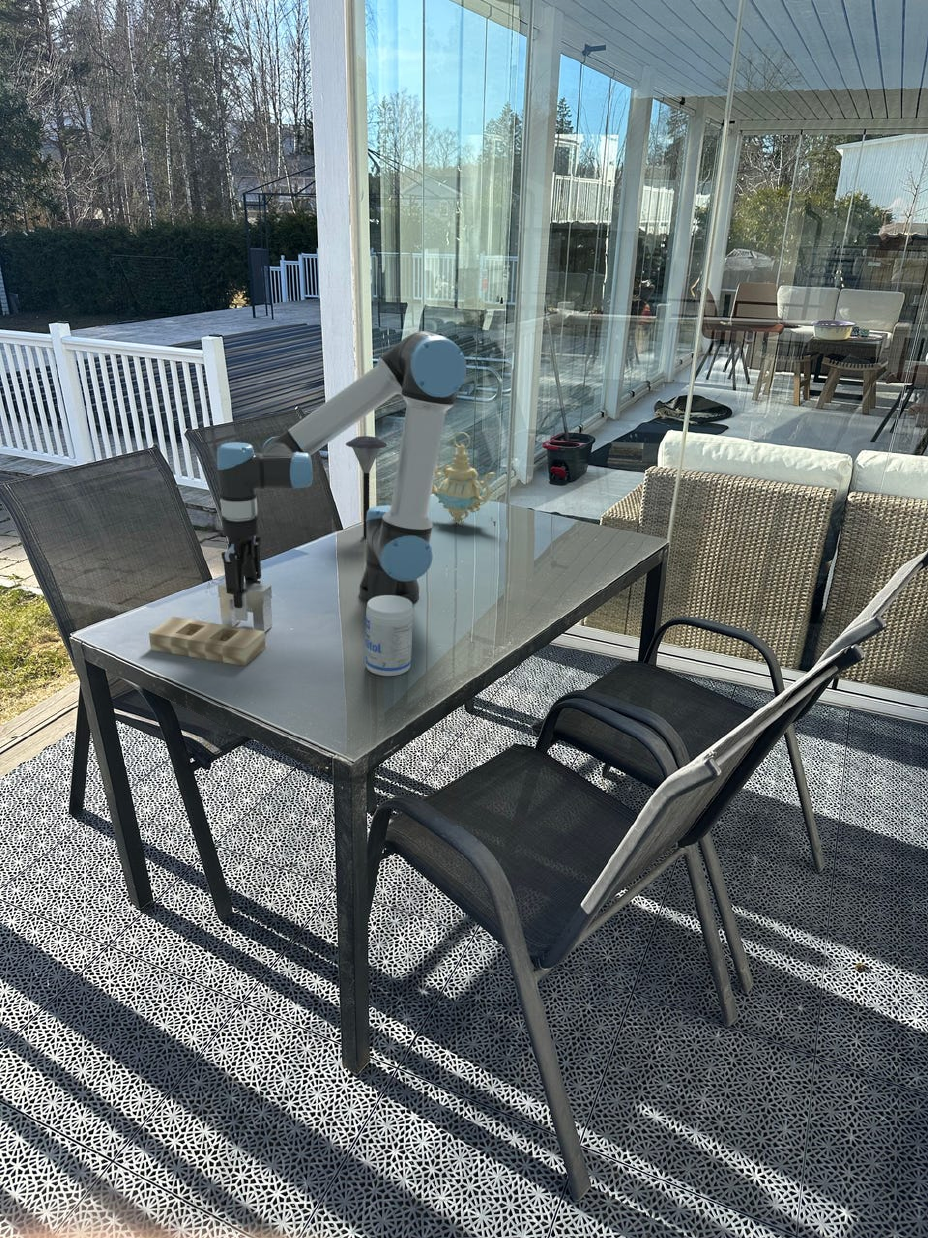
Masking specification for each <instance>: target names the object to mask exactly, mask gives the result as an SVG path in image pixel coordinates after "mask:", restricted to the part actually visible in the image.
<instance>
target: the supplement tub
mask: <svg viewBox="0 0 928 1238" xmlns="http://www.w3.org/2000/svg"><path fill="white" fill-rule="evenodd" d="M365 611H366V612H365V656H364V657H365V659H364V660H365V668H367V670H368V671H369V672H371V673H372V674H374V675H378V676H382V677H396V676H400V675H404V674H405V673H406V672H408V671H409V669H410V668H411V665H412V662H411V661H412V644H413V641H412V640H413V622H414V620H413V618H414V607H413V602H411V601H410V600H408V599H406V598H404V597H401V596H395V595H382V596H377V597H374V598H372V599H370V600H369V601H368V602H367V604H366V610H365Z"/></svg>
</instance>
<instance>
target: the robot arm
mask: <svg viewBox="0 0 928 1238" xmlns="http://www.w3.org/2000/svg"><path fill="white" fill-rule="evenodd" d="M466 376H467V361H466V357H465V355H464V353H463V351H462V350H461V349H460V347H459V345H457V344H456V343H455V342H454V341H453V339H450V338H448V337H446V336H443V335H440V334H437V333H435V332H431V331H426V330H421V331H417V332H413V333H411V334H410V335H408V336H406V337H405V338H403V339H402V340H400V341H399V342H398V343H397V344H395V345H394V346H393V347H392V348H390V349H388V351H386V352H385V353H384V354H383V355H381V356H379V357H378V358H377V364H376V366H374V367H373V368H371V369H370V370H369V371H367V372H366V373H364V374H363V375H361V376H360V377H358V379H356V380H355V381H353V382H352V383H351V384H349V385H347V386H346V387H344V388H343V390H340V391H339V392H338V393H337V394H335V395H334V396H333V397H331V398H330V399H328V400H327V401H326V402H324V403H323V404H322V405H320V406H319V407H317V408H316V409H314V410H313V411H312V412H310V413H309V414H308V415H307V416H305V417H304V418H302V419H301V420H300V421H299V422H297V423H295V424H294V425H293V426H291V427H290V428H289V429H287V430H286V431H285V432H283V433H282V434H280V435H278V436H273V437H270V438H269V439H267V440H266V441H265V442H264V443H263V445H262V449H261V453H258V452H255V449H254V447H253V445H252V444H250V443H247V442H240V441H239V442H237V441H236V442H234V441H233V442H226V443H223V444H220V446H218V448H217V450H216V454H217V455H216V457H217V458H216V460H217V464H216V465H217V479H218V486H219V487H218V488H219V496H220V500H219V503H220V509H221V516H222V518H221V525H222V533H223V535H224V536H226V537H227V538H228V545H227V546H228V547H227V548H228V549H227V551H226V552H225V551H223V552H221V559H222V562H223V566H224V567H223V568H224V577H225V579H224V581H225V580H226V590H227V593H228V594H233V597H234V610H235V619H236V620H241V621H245V622H247V621H248V620H249V619H248V618H249V617H248V613H252V614H253V606H252V603H251V602H246V593H244V582H250V583H257V584H262V582H261V579H262V564H261V563H262V562H261V561H262V560H261V543H262V538H261V536H256V535H257V534H258V533H259V520H258V519H259V518H258V513H259V512H258V503H257V502H258V501H257V499H258V498H257V490H268V489H271V490H275V489H276V490H278V489H280V490H281V489H282V490H283V489H294V490H297V489H302V488H309V487H310V486H311V485H312V484H313V477H314V476H313V474H314V473H313V462H312V457H311V456H312V455H313V454H315V453H316V452H317V451H319V450H320V449H322V448H323V447H324V446H326V445H327V444H329V443H330V442H331V441H333V440H335V439H336V438H338V437H339V436H340V435H341V434H343V433H344V432H346V431H347V430H348V429H350V428H351V427H352V426H354V425H356V424H357V423H358V422H359V421H361V420H362V419H364V418H365V417H366V416H368V415H369V414H370V413H372V412H373V411H375V410H376V409H378V408H379V407H380V406H381V405H383V404H384V403H386V402H387V401H389V400H390V399H392V398H393V397H394V396H395V395H401V398H403V400H404V403H405V404H406V408H405V409H406V410H405V413H404V414H405V415H404V421H403V422H404V423H403V428H402V434H401V439H400V446H399V455H398V459H397V466H396V473H395V478H394V484H393V490H392V491H393V492H392V499H391V504H390V505H388V504H387V505H377V506H373V507H369V510H368V511H367V519H366V522H367V538H366V566H365V570H364V572H363V575H362V578H361V581H360V584H359V597H360V598H361V600H363V601H365V602H367V603H368V601H369V600H370V599H372V598H374V597H377V596H382V595H395V596H401V597H404V598H406V599H408V600H410V601H411V602H412V603H413V602H416V601H417V600H418V599H419V597H420V586H419V582H418V579H419V578H421V577H422V576H424V575H425V574H426V573H427V572H428V571H429V570H430V568H431V565H432V563H433V557H434V556H433V550H432V546H431V545H430V541H431V536H432V531H433V530H432V529H433V522H432V520H430V518H429V516H428V515H429V510H430V505H431V498H432V494H433V492H432V487H433V482H434V483H435V478H434V476H435V470H436V465H437V466H438V457H439V452H440V446H441V440H442V436H443V430H444V429H443V428H444V422H445V418H446V412H447V411H448V410H450V409H451V408H453V407H454V406H455V400H456V397H457V396H456V395H457V391H458V390H459V389H460V388H461V386H463V384H464V382H465V379H466ZM435 477H436V476H435Z"/></svg>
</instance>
